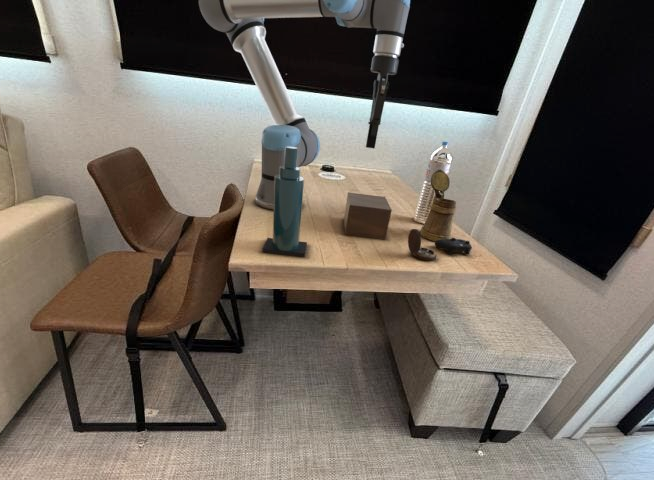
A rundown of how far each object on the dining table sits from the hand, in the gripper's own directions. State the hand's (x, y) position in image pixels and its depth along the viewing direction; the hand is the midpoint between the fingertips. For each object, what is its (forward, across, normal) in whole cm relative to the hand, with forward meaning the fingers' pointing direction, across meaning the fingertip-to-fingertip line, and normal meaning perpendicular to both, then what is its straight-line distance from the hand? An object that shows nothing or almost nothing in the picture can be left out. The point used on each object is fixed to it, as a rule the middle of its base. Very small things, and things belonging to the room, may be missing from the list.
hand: (370, 147), depth 104 cm
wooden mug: (+21, -16, -22) cm, 34 cm away
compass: (+21, -34, -14) cm, 42 cm away
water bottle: (+21, -4, -22) cm, 30 cm away
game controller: (+21, -28, -25) cm, 43 cm away
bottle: (+19, -41, +21) cm, 50 cm away
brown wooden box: (+20, -19, 0) cm, 28 cm away
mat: (+20, -40, +21) cm, 50 cm away
